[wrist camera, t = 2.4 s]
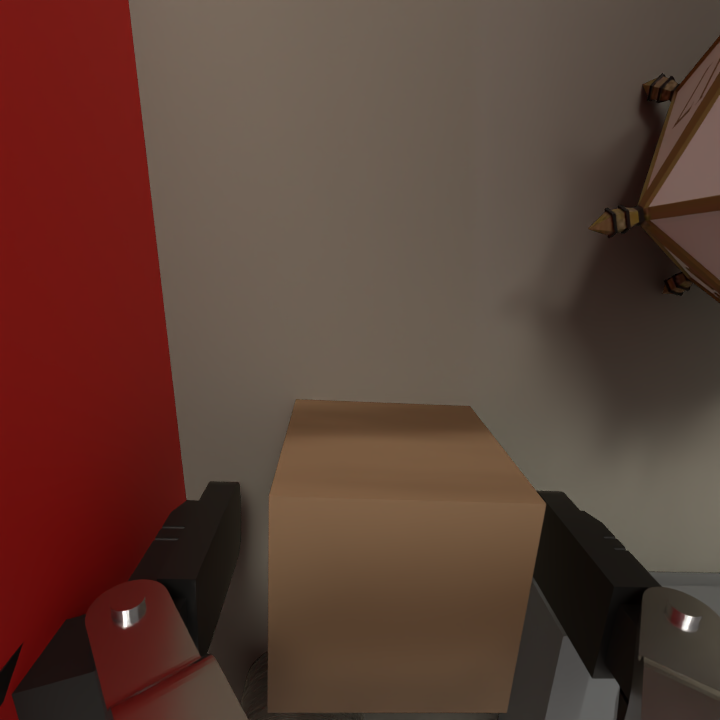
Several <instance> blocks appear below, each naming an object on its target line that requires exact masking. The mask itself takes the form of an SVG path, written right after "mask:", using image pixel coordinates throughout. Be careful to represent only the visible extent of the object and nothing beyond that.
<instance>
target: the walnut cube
mask: <svg viewBox="0 0 720 720" xmlns="http://www.w3.org/2000/svg"><path fill="white" fill-rule="evenodd" d="M545 509H546V503H545V502H544V500H543V499H542V498H541V497H540V495H539V494H538V493H537V491H536V490H535V489H534V488H533V486H532V485H531V484H530V482H529V481H528V480H527V479H526V477H525V476H524V475H523V473H522V472H521V471H520V470H519V468H518V467H517V466H516V464H515V463H514V462H513V461H512V459H511V458H510V457H509V456H508V454H507V453H506V452H505V450H504V449H503V448H502V447H501V445H500V444H499V443H498V441H497V440H496V439H495V438H494V436H493V435H492V434H491V432H490V431H489V430H488V429H487V427H486V426H485V425H484V423H483V422H482V421H481V420H480V418H479V417H478V416H477V414H476V413H475V412H474V411H473V409H472V408H471V407H470V406H451V405H426V404H401V403H376V402H351V401H326V400H300V399H296V401H295V405H294V408H293V412H292V415H291V419H290V422H289V426H288V430H287V433H286V437H285V440H284V444H283V448H282V451H281V455H280V458H279V462H278V465H277V469H276V473H275V476H274V480H273V483H272V487H271V491H270V494H269V558H268V712H267V713H507V709H508V704H509V699H510V693H511V688H512V683H513V678H514V672H515V667H516V662H517V656H518V651H519V646H520V641H521V635H522V630H523V625H524V619H525V614H526V609H527V604H528V598H529V593H530V588H531V583H532V577H533V572H534V567H535V561H536V556H537V551H538V546H539V540H540V535H541V530H542V524H543V519H544V514H545Z"/></svg>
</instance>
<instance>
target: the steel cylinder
mask: <svg viewBox="0 0 720 720" xmlns="http://www.w3.org/2000/svg"><path fill="white" fill-rule="evenodd" d="M241 707H242V709H243V711H244V713H245V714H246V716H247V718H248V720H364V713H267V712H268V651H267V652H266V653H264V654H263V655H262V656H260V657H259V658H258V659H257V660H256V661H255V663H254V664H253V665H252V667H251V668H250V670H249V672H248V675H247V678H246V682H245V686H244V691H243V696H242V701H241Z"/></svg>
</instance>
